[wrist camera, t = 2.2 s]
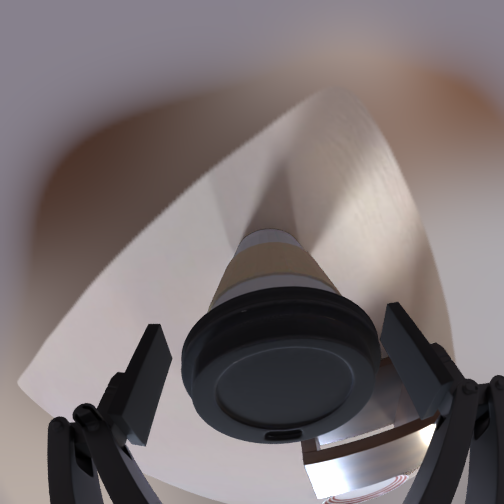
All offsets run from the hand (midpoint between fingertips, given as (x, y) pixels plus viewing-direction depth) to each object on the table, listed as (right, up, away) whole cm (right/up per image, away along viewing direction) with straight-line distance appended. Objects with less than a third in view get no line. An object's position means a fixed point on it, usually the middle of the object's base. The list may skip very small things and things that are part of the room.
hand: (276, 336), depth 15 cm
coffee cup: (0, +4, +9) cm, 10 cm away
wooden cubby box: (+14, -17, +18) cm, 29 cm away
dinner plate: (+33, -67, +39) cm, 84 cm away
